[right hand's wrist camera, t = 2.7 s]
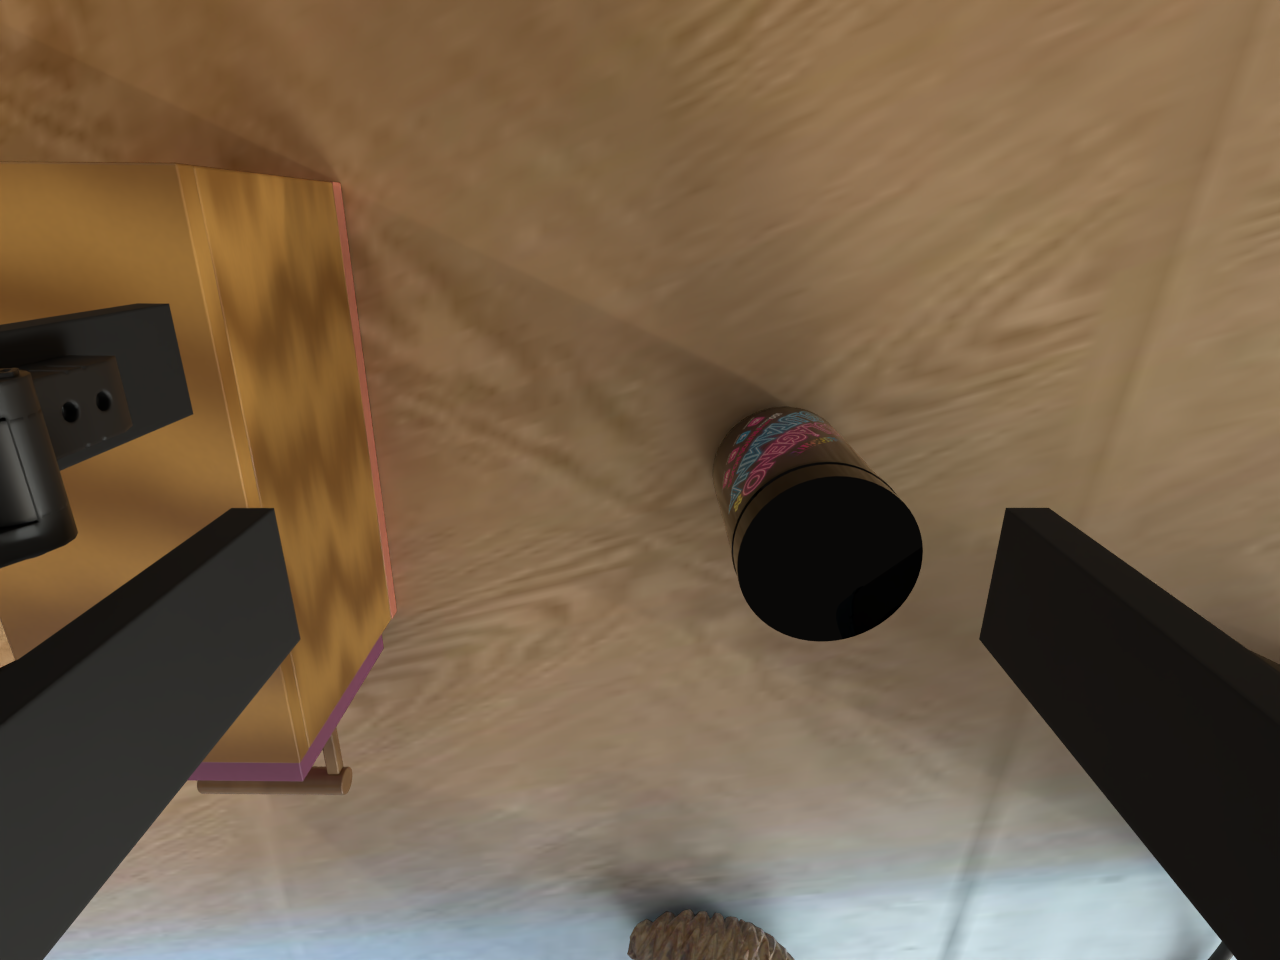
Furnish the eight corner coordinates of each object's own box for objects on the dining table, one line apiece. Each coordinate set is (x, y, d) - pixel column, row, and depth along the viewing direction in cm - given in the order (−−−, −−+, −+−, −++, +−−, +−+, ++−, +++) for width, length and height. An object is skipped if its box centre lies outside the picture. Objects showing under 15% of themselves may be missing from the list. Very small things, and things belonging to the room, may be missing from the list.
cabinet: (397, 611, 38) (300, 764, 27) (217, 609, 38) (51, 761, 27) (340, 182, 31) (176, 162, 20) (116, 180, 31) (-170, 159, 20)
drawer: (395, 726, 40) (322, 874, 31) (244, 724, 40) (127, 872, 31) (327, 253, 31) (196, 267, 22) (132, 252, 31) (-80, 265, 22)
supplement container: (864, 419, 34) (953, 499, 24) (819, 540, 36) (884, 658, 27) (732, 387, 34) (768, 455, 24) (694, 512, 36) (714, 621, 26)
